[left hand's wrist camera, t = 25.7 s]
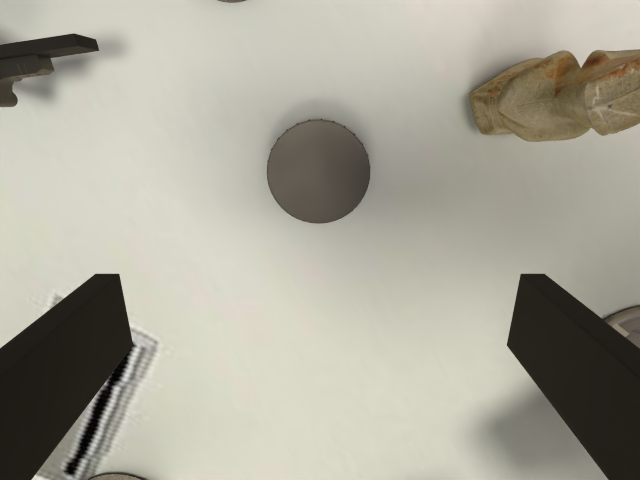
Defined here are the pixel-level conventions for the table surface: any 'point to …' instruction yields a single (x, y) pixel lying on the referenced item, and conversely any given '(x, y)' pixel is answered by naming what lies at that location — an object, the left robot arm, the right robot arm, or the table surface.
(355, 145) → the lid
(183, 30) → the table surface
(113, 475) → the bust sculpture
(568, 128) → the sculpture
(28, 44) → the right robot arm
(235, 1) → the jar
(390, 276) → the table surface
